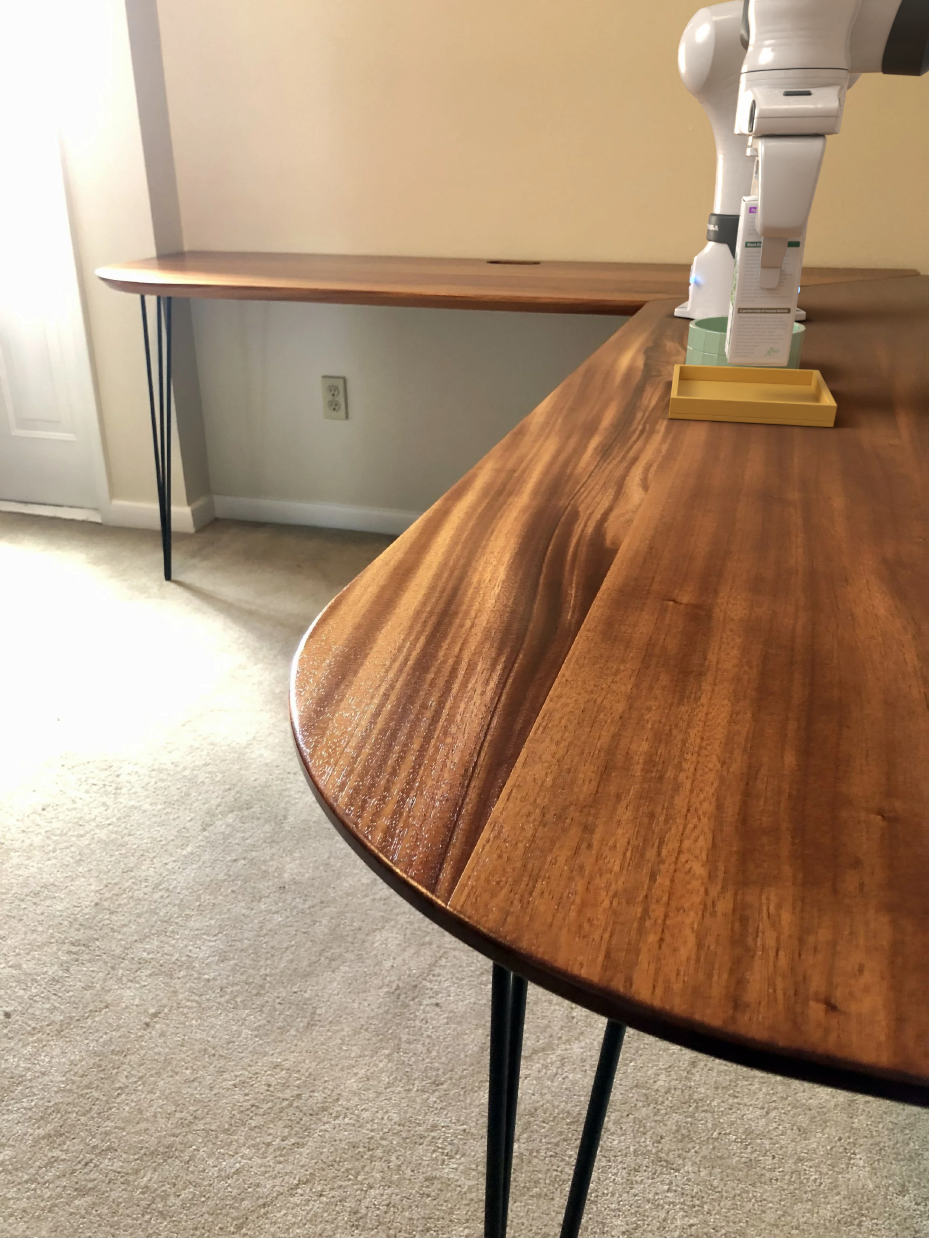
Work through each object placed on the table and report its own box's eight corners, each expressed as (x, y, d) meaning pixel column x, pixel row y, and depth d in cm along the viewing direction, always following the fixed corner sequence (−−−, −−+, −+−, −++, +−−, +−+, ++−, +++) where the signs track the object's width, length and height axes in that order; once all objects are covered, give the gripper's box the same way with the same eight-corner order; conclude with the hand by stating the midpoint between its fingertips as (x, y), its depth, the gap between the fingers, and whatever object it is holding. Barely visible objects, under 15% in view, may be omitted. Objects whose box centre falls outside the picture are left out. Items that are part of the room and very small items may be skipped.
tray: (672, 382, 96) (674, 364, 95) (815, 389, 93) (819, 370, 92) (668, 418, 83) (670, 397, 82) (833, 427, 80) (837, 405, 79)
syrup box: (789, 367, 83) (816, 196, 76) (724, 365, 84) (745, 196, 77) (782, 355, 88) (807, 193, 81) (721, 353, 89) (740, 193, 82)
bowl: (685, 357, 108) (690, 314, 105) (792, 361, 105) (799, 317, 103) (683, 380, 97) (689, 333, 95) (802, 385, 94) (810, 337, 92)
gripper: (745, 116, 86) (726, 268, 92) (757, 108, 68) (733, 297, 75) (813, 115, 85) (790, 270, 91) (843, 107, 67) (811, 299, 73)
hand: (764, 282), depth 83 cm, fingers closed on syrup box, 6 cm apart
